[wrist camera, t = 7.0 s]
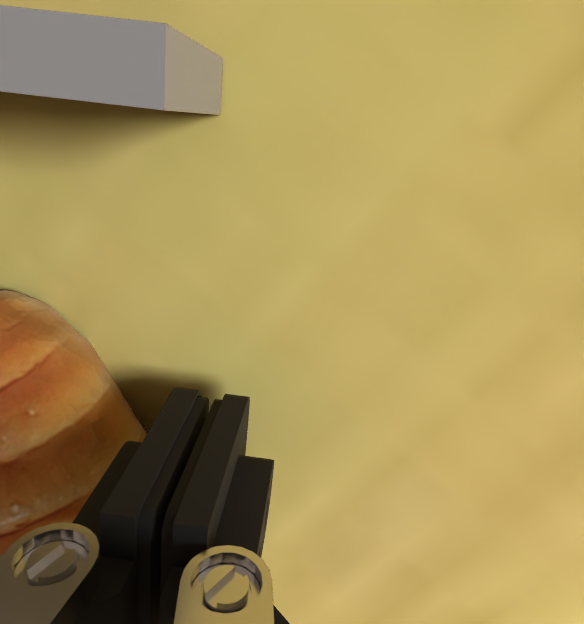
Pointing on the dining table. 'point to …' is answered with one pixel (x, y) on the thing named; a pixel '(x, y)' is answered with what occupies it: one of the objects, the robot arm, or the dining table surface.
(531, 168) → the dining table surface
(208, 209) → the dining table surface
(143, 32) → the gray u-shaped fence
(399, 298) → the dining table surface
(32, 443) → the pastry
